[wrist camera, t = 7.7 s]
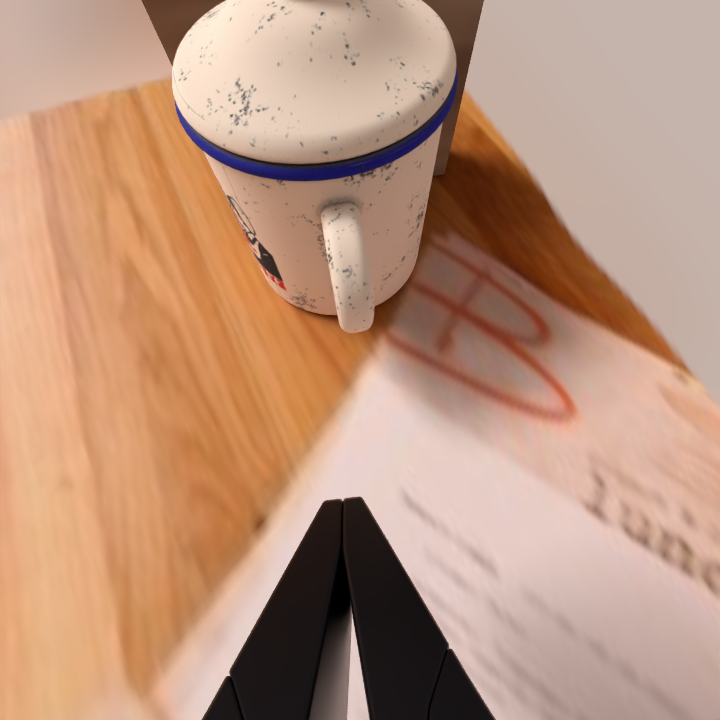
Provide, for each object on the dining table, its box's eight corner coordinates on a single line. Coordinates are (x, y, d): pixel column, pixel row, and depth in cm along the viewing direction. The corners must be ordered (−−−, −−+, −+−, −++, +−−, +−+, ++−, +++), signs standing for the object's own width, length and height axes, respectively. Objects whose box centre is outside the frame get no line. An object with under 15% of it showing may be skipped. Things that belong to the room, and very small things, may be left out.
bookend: (444, 174, 21) (515, -140, 10) (232, 194, 21) (94, -100, 10) (437, 147, 22) (496, -166, 11) (234, 166, 22) (109, -130, 11)
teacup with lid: (253, 202, 20) (119, -130, 10) (401, 179, 21) (434, -168, 10) (266, 391, 16) (43, 169, 5) (455, 358, 16) (623, 82, 5)
